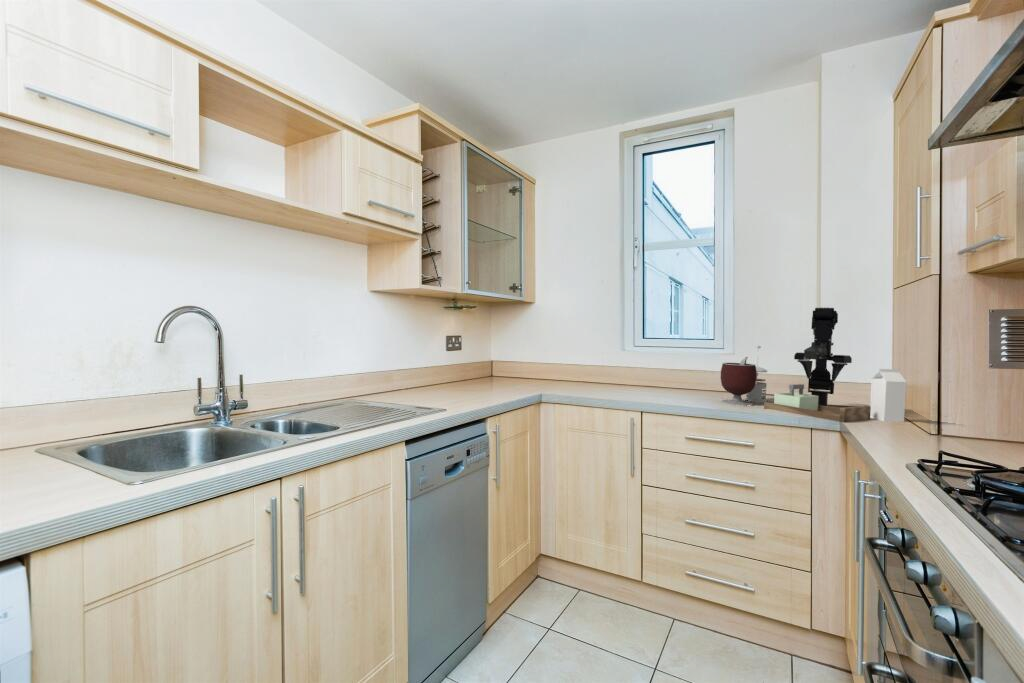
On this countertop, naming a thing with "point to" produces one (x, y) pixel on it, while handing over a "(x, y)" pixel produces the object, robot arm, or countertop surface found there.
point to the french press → (758, 387)
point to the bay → (827, 412)
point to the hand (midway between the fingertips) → (820, 379)
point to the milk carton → (888, 396)
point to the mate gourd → (738, 380)
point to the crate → (797, 398)
